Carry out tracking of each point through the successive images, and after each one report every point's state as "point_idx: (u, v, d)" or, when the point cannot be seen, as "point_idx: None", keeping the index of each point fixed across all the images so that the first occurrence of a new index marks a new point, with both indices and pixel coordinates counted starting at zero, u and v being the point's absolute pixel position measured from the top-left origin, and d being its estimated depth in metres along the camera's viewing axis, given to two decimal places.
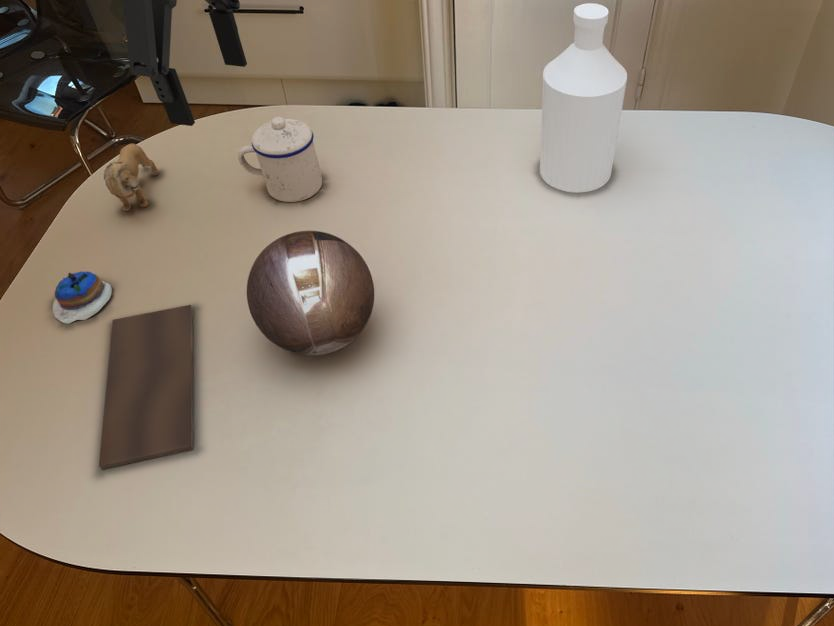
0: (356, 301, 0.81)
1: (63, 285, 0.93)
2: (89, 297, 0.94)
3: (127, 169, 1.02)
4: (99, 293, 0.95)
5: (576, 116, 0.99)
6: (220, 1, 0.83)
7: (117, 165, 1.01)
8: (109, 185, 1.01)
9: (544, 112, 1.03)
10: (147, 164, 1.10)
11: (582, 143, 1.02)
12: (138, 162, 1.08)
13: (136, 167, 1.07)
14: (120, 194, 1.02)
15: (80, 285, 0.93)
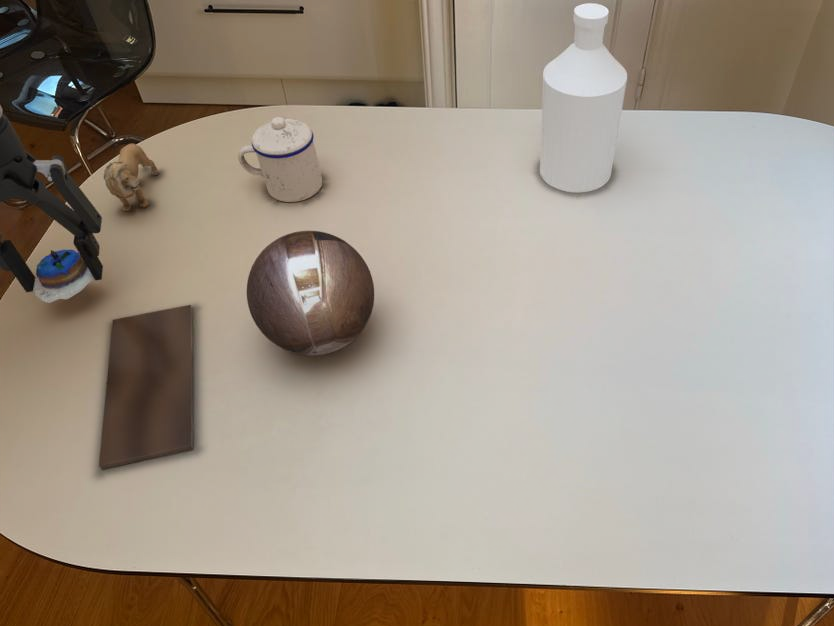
0: (356, 301, 0.81)
1: (45, 263, 0.90)
2: (72, 276, 0.91)
3: (127, 169, 1.02)
4: (82, 272, 0.92)
5: (576, 116, 0.99)
6: None
7: (117, 165, 1.01)
8: (109, 185, 1.01)
9: (544, 112, 1.03)
10: (147, 164, 1.10)
11: (582, 143, 1.02)
12: (138, 162, 1.08)
13: (136, 167, 1.07)
14: (120, 194, 1.02)
15: (62, 263, 0.90)
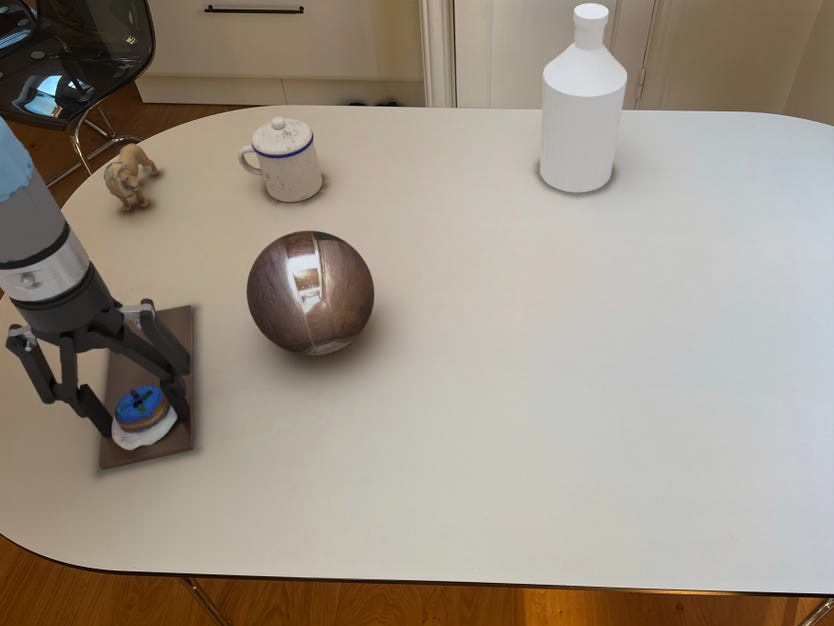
0: (356, 301, 0.81)
1: (125, 405, 0.79)
2: (155, 418, 0.80)
3: (127, 169, 1.02)
4: (165, 412, 0.81)
5: (576, 116, 0.99)
6: None
7: (117, 165, 1.01)
8: (109, 185, 1.01)
9: (544, 112, 1.03)
10: (147, 164, 1.10)
11: (582, 143, 1.02)
12: (138, 162, 1.08)
13: (136, 167, 1.07)
14: (120, 194, 1.02)
15: (145, 405, 0.79)
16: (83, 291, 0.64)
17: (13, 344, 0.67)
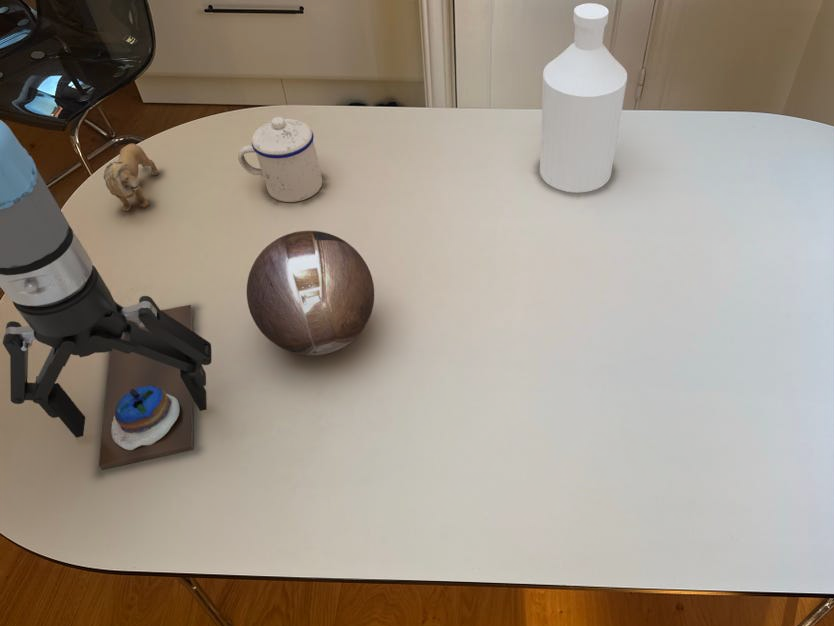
0: (356, 301, 0.81)
1: (125, 405, 0.79)
2: (155, 418, 0.80)
3: (127, 169, 1.02)
4: (165, 412, 0.81)
5: (576, 116, 0.99)
6: None
7: (117, 165, 1.01)
8: (109, 185, 1.01)
9: (544, 112, 1.03)
10: (147, 164, 1.10)
11: (582, 143, 1.02)
12: (138, 162, 1.08)
13: (136, 167, 1.07)
14: (120, 194, 1.02)
15: (145, 405, 0.79)
16: (86, 295, 0.64)
17: (11, 342, 0.67)
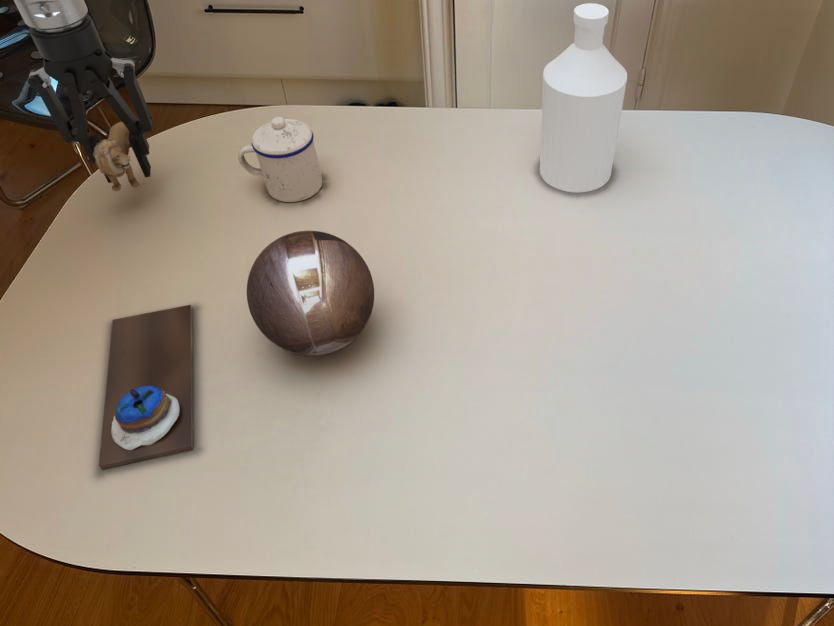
0: (356, 301, 0.81)
1: (125, 405, 0.79)
2: (155, 418, 0.80)
3: (117, 146, 0.99)
4: (165, 412, 0.81)
5: (576, 116, 0.99)
6: None
7: (107, 142, 0.98)
8: (99, 163, 0.98)
9: (544, 112, 1.03)
10: None
11: (582, 143, 1.02)
12: (128, 141, 1.06)
13: (126, 146, 1.04)
14: (110, 172, 1.00)
15: (145, 405, 0.79)
16: (83, 29, 0.89)
17: (33, 80, 0.93)
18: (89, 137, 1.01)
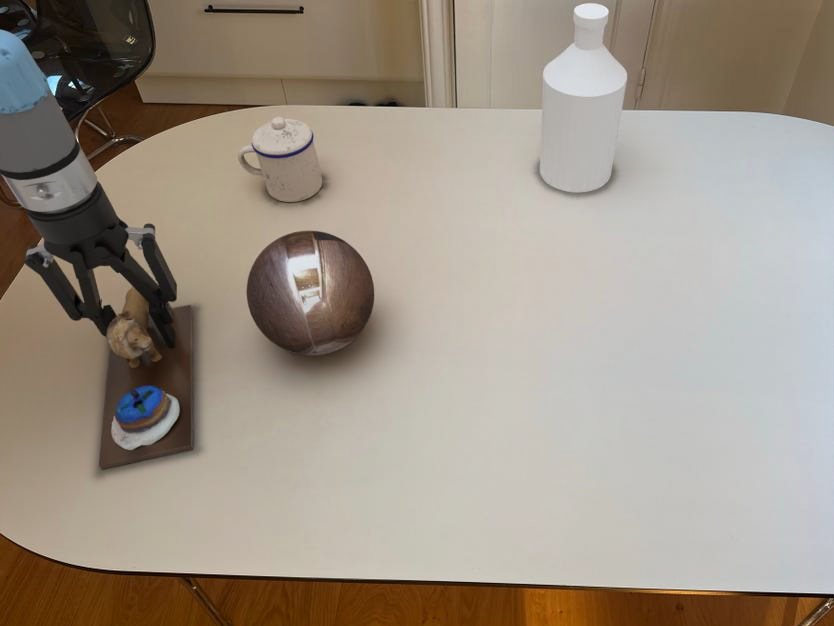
0: (356, 301, 0.81)
1: (125, 405, 0.79)
2: (155, 418, 0.80)
3: (136, 326, 0.81)
4: (165, 412, 0.81)
5: (576, 116, 0.99)
6: None
7: (123, 324, 0.80)
8: (113, 348, 0.80)
9: (544, 112, 1.03)
10: None
11: (582, 143, 1.02)
12: (148, 306, 0.88)
13: (146, 315, 0.86)
14: (127, 357, 0.82)
15: (145, 405, 0.79)
16: (91, 205, 0.71)
17: (31, 261, 0.75)
18: (101, 311, 0.84)
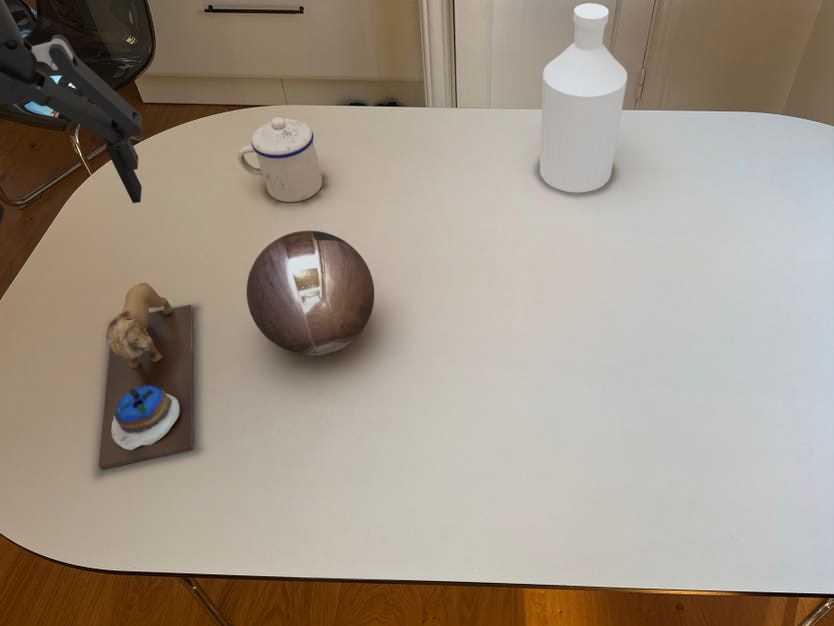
0: (356, 301, 0.81)
1: (125, 405, 0.79)
2: (155, 418, 0.80)
3: (136, 326, 0.81)
4: (165, 412, 0.81)
5: (576, 116, 0.99)
6: None
7: (123, 324, 0.80)
8: (113, 348, 0.80)
9: (544, 112, 1.03)
10: (159, 306, 0.89)
11: (582, 143, 1.02)
12: (148, 306, 0.88)
13: (146, 315, 0.86)
14: (127, 357, 0.82)
15: (145, 405, 0.79)
16: None
17: None
18: None
